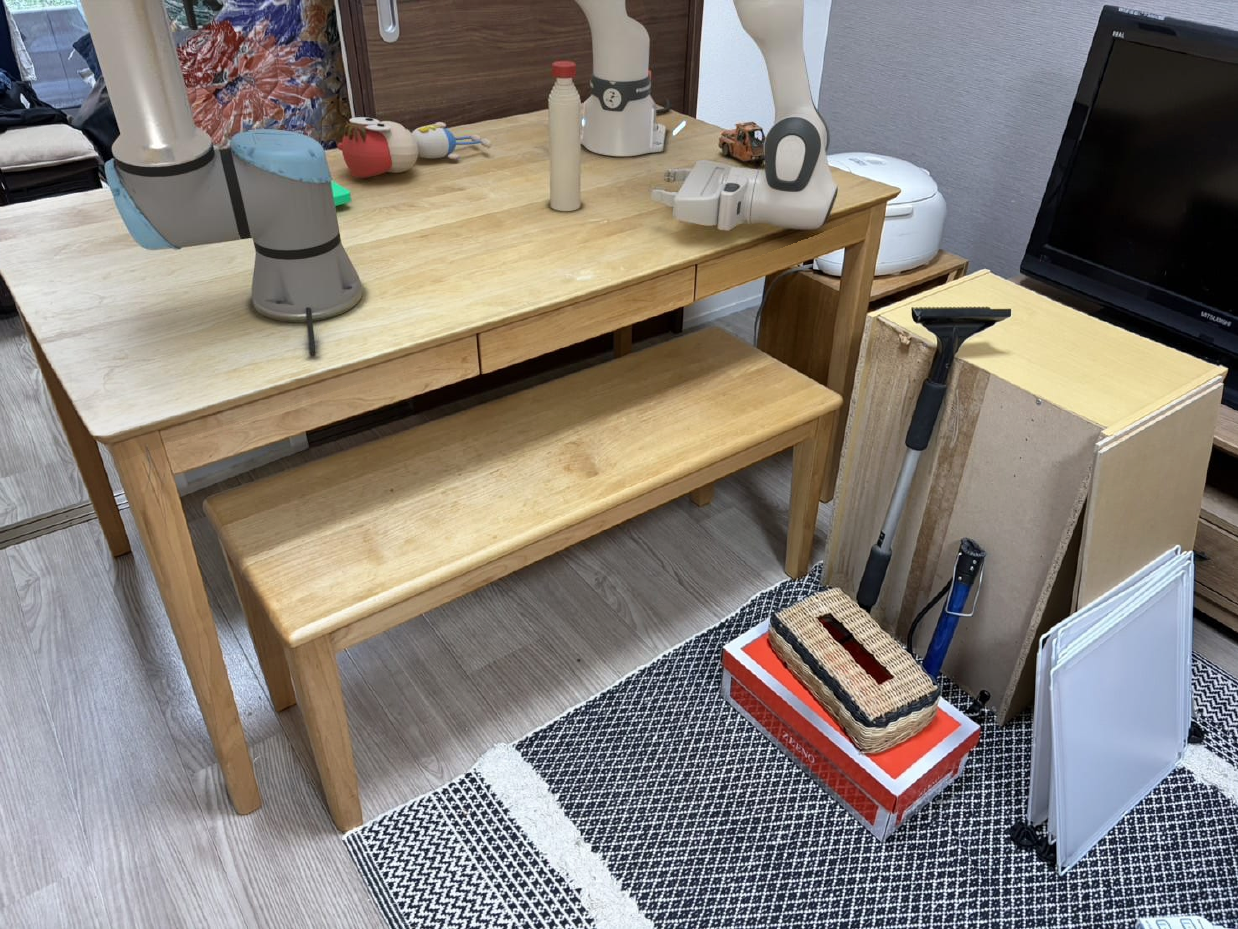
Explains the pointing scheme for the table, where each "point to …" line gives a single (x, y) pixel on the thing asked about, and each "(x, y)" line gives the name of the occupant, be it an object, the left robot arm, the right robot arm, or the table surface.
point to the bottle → (565, 146)
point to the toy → (395, 145)
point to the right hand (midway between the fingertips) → (658, 184)
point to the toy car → (743, 143)
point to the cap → (564, 69)
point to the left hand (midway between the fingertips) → (149, 33)
